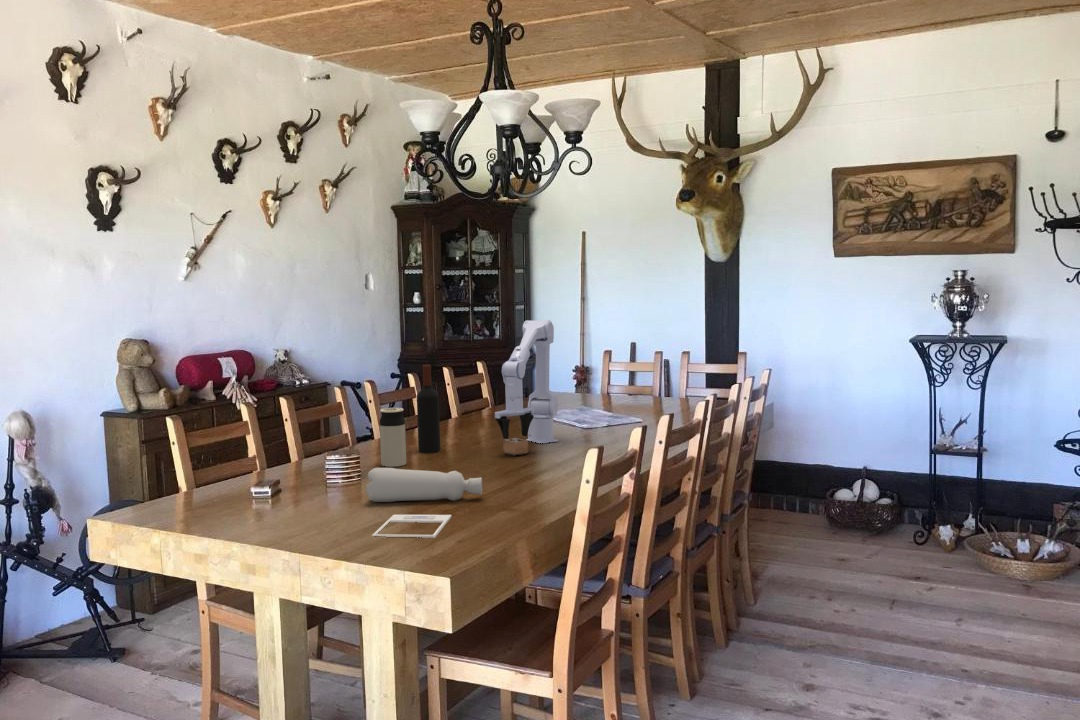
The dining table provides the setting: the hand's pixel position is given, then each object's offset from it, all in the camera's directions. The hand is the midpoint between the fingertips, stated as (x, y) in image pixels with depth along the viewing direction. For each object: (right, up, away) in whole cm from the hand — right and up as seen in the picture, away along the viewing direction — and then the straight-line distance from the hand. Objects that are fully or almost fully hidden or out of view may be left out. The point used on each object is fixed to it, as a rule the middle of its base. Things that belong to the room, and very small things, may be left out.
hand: (515, 437), depth 293 cm
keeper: (0, -6, 0) cm, 6 cm away
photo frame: (-22, -14, -85) cm, 89 cm away
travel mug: (-39, -8, -12) cm, 41 cm away
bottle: (-22, -12, -60) cm, 65 cm away
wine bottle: (-30, -6, +10) cm, 32 cm away
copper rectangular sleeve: (0, -5, 0) cm, 5 cm away
